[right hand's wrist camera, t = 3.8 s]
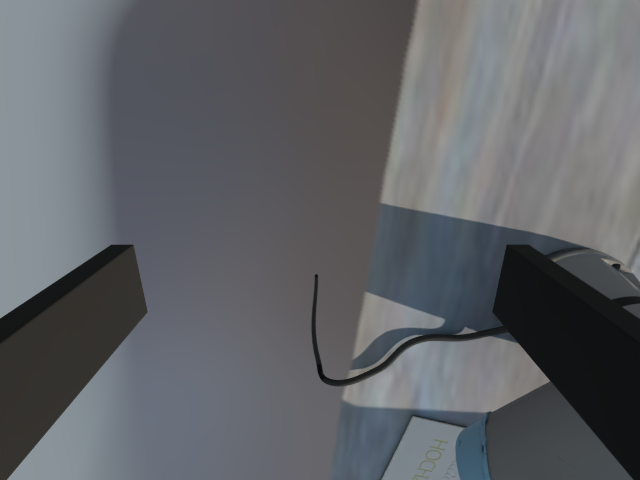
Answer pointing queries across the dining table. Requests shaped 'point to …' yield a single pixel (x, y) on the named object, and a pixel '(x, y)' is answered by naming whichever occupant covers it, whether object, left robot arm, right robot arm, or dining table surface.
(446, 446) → the invitation card
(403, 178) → the dining table surface
